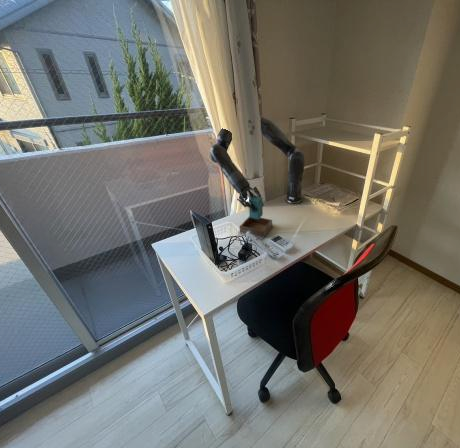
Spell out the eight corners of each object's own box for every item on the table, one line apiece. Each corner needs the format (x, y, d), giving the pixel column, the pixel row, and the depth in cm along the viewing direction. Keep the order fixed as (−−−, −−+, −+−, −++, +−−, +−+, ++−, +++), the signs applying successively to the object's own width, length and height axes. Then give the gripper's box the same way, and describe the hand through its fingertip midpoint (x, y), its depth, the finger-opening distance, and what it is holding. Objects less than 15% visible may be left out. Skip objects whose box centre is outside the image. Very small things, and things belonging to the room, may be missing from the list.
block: (253, 213, 128) (253, 195, 123) (262, 214, 127) (262, 197, 121) (249, 217, 124) (248, 199, 119) (258, 219, 123) (258, 201, 117)
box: (250, 221, 136) (250, 215, 134) (272, 226, 133) (272, 220, 131) (240, 233, 127) (239, 226, 124) (263, 238, 123) (262, 231, 121)
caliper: (246, 239, 122) (245, 229, 119) (247, 238, 123) (247, 228, 120) (274, 259, 110) (274, 247, 107) (276, 257, 111) (276, 246, 108)
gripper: (243, 180, 128) (262, 206, 130) (224, 190, 118) (246, 218, 119) (251, 173, 123) (271, 200, 125) (232, 182, 113) (254, 211, 114)
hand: (258, 208), depth 122 cm, fingers closed on block, 5 cm apart
